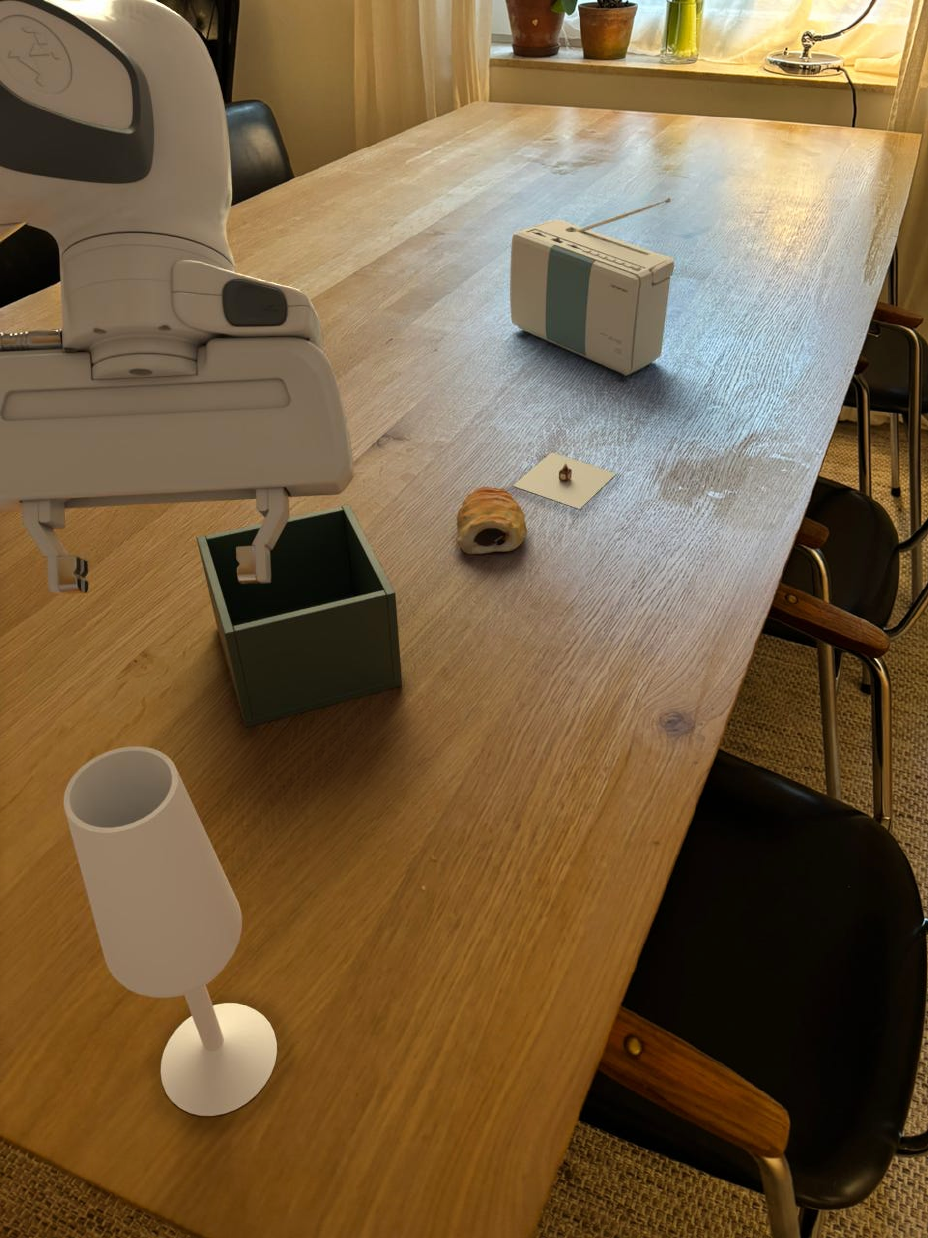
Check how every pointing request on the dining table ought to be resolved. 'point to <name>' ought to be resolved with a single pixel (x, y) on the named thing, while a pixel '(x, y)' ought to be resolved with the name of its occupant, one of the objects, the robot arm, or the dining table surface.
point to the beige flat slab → (565, 480)
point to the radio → (590, 292)
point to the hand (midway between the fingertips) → (162, 587)
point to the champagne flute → (167, 920)
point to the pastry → (490, 522)
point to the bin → (304, 617)
